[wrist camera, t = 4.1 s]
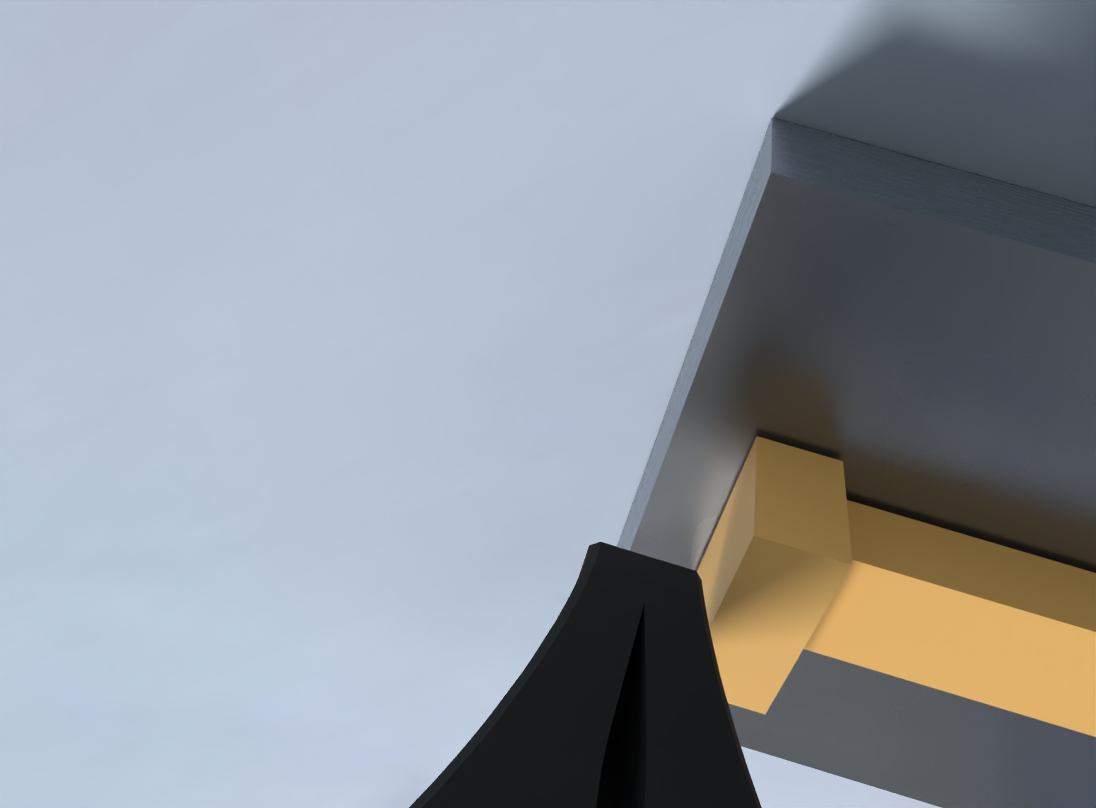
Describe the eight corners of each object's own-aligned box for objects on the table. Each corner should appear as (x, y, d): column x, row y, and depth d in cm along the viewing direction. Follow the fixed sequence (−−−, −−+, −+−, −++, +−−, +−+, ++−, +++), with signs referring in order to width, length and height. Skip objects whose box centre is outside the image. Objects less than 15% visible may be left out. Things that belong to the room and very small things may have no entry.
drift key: (1339, 607, 12) (1424, 734, 11) (1200, 736, 14) (1254, 864, 13) (756, 435, 13) (753, 535, 11) (691, 584, 14) (680, 688, 13)
